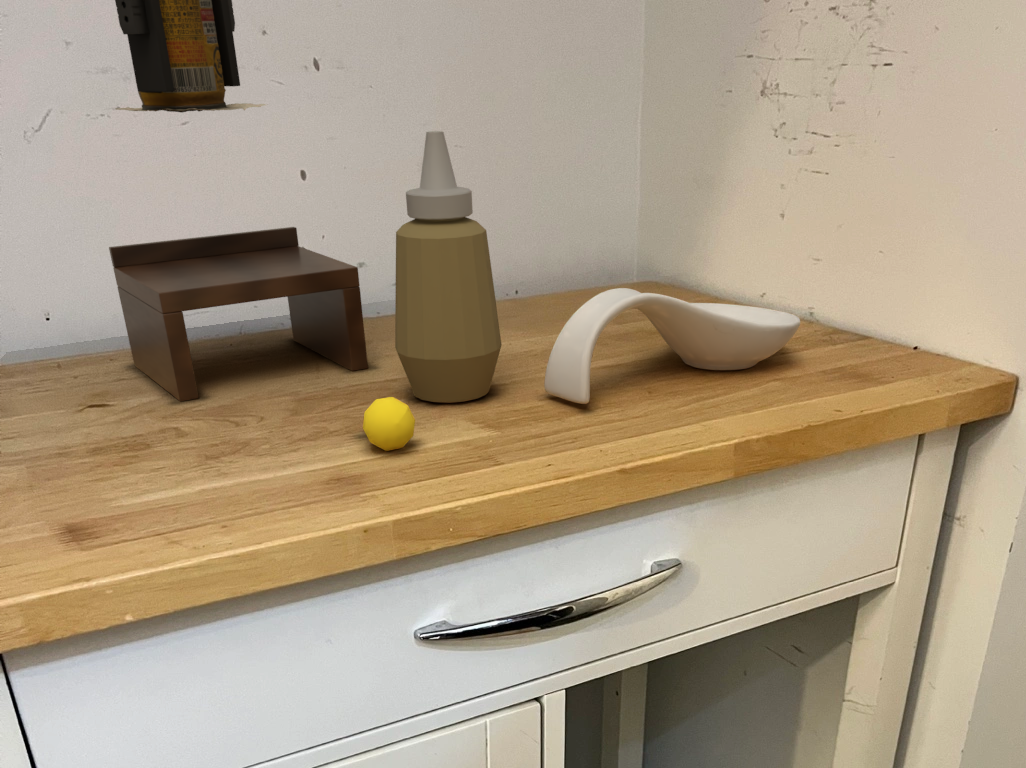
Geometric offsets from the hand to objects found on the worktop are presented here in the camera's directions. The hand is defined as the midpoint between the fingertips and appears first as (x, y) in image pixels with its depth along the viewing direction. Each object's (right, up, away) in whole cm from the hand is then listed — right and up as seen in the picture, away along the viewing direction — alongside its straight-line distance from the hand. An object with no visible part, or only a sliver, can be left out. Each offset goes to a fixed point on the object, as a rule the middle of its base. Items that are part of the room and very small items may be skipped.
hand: (190, 87), depth 78 cm
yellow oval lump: (+14, -26, -3) cm, 30 cm away
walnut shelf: (0, -15, +15) cm, 21 cm away
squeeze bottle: (+18, -20, +7) cm, 28 cm away
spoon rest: (+36, -18, +10) cm, 41 cm away
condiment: (0, -1, +1) cm, 2 cm away
